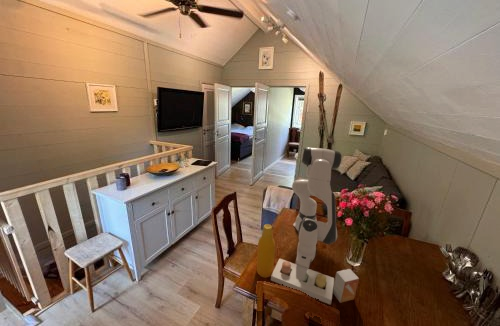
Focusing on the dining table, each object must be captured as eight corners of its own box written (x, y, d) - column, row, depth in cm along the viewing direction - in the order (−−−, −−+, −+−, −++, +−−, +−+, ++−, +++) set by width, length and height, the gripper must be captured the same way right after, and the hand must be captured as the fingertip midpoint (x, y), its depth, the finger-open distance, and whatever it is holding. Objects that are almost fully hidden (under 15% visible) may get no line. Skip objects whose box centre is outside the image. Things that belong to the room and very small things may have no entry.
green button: (298, 275, 113) (299, 269, 112) (307, 279, 111) (308, 272, 110) (296, 282, 109) (297, 275, 108) (305, 285, 107) (306, 278, 106)
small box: (340, 303, 99) (345, 282, 95) (331, 291, 105) (335, 271, 101) (354, 299, 101) (359, 278, 97) (345, 288, 107) (349, 268, 103)
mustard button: (316, 279, 109) (317, 272, 108) (325, 282, 107) (326, 275, 106) (314, 286, 105) (316, 279, 104) (324, 289, 103) (325, 282, 102)
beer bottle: (263, 281, 110) (266, 234, 101) (253, 269, 117) (255, 224, 108) (276, 273, 115) (280, 228, 106) (265, 262, 122) (268, 219, 113)
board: (279, 262, 123) (279, 258, 122) (333, 282, 110) (334, 278, 109) (270, 280, 110) (271, 275, 110) (330, 304, 98) (331, 300, 97)
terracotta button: (283, 266, 116) (283, 260, 115) (291, 269, 114) (291, 263, 113) (280, 272, 112) (281, 266, 111) (288, 275, 110) (289, 269, 109)
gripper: (304, 238, 115) (301, 258, 119) (294, 263, 97) (292, 286, 101) (315, 241, 112) (312, 262, 117) (308, 267, 95) (305, 291, 99)
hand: (303, 273), depth 109 cm, fingers closed
